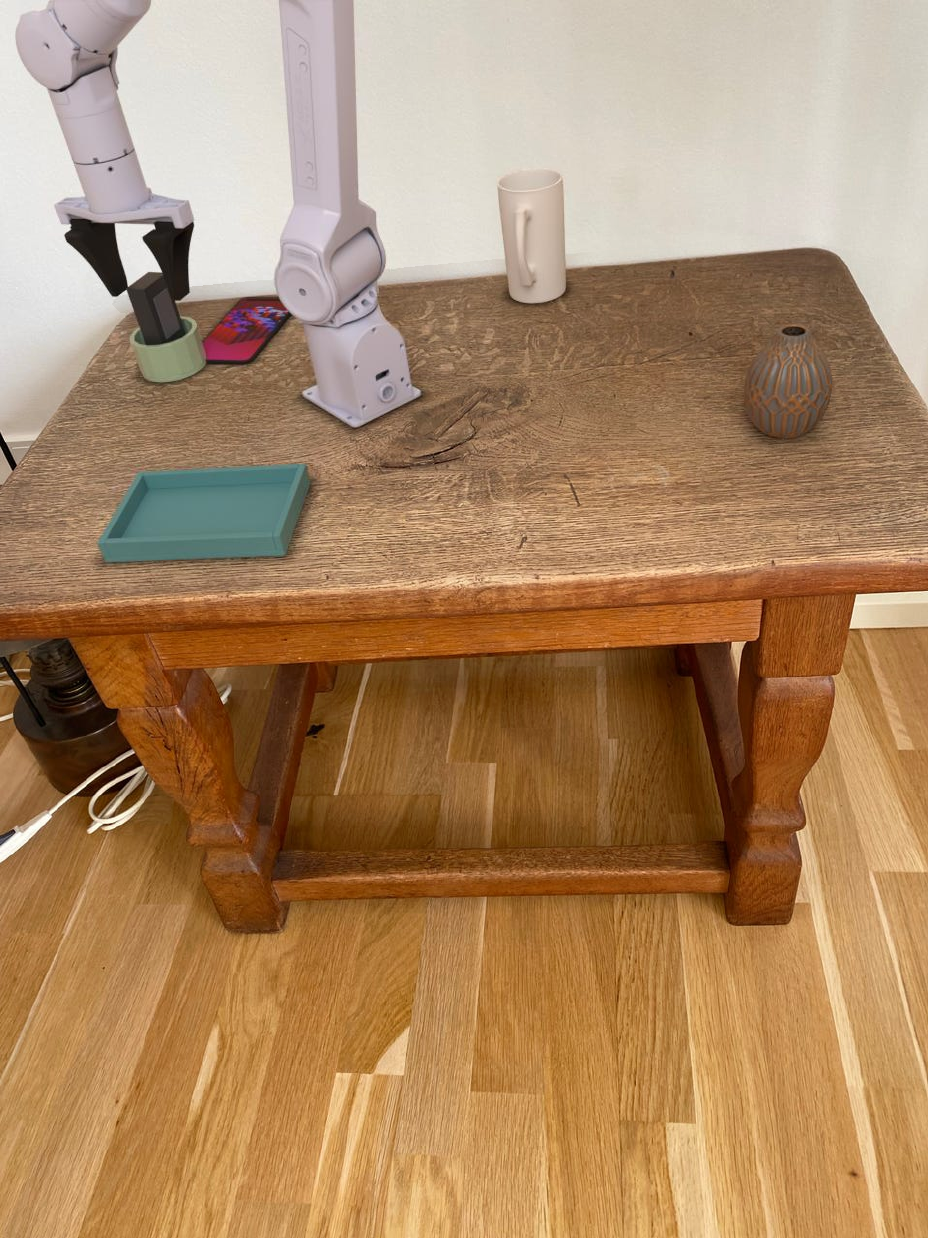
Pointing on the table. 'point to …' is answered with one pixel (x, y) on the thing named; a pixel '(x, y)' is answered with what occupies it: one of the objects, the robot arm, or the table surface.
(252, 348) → the smartphone
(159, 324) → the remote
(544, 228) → the mug
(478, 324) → the table surface
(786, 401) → the vase
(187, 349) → the cup
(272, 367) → the table surface
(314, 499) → the table surface
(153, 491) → the tray
